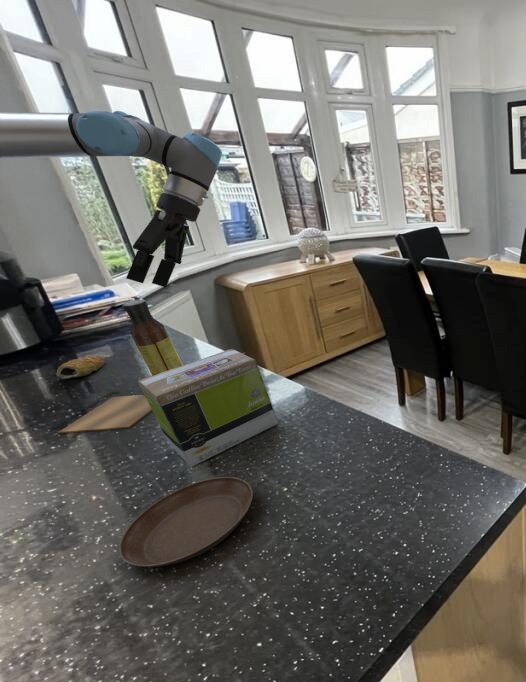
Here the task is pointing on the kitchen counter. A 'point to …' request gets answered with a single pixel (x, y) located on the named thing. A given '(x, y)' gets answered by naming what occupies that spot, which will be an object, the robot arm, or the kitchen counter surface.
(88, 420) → the cork mat
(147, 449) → the kitchen counter surface
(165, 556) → the saucer
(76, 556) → the kitchen counter surface
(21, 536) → the kitchen counter surface
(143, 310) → the sauce bottle
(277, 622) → the kitchen counter surface
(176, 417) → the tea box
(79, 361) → the pastry
